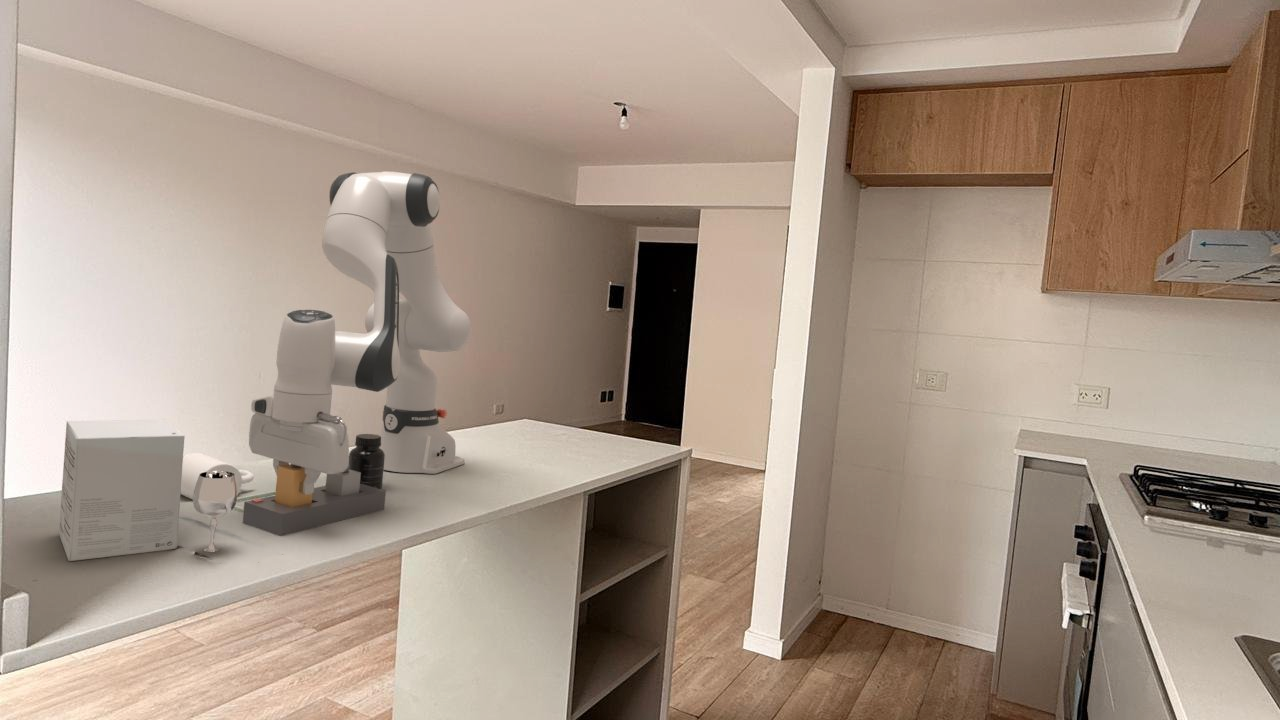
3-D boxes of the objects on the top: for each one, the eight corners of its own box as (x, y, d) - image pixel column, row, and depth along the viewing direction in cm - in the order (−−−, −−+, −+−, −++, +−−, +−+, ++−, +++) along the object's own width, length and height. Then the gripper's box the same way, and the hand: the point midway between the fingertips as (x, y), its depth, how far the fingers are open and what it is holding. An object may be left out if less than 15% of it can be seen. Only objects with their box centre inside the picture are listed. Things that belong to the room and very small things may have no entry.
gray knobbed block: (341, 505, 139) (345, 461, 138) (357, 510, 137) (361, 466, 136) (323, 509, 135) (327, 464, 135) (339, 514, 133) (343, 469, 133)
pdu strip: (348, 506, 144) (350, 479, 143) (383, 517, 140) (386, 489, 139) (242, 531, 124) (244, 500, 124) (279, 544, 120) (282, 512, 120)
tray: (274, 501, 142) (275, 490, 142) (308, 512, 138) (309, 501, 138) (217, 512, 132) (218, 501, 132) (253, 524, 128) (254, 513, 128)
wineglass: (204, 544, 116) (209, 468, 116) (240, 549, 116) (246, 472, 115) (180, 557, 111) (185, 476, 110) (218, 562, 110) (224, 481, 110)
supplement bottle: (339, 492, 153) (344, 433, 152) (371, 488, 158) (376, 431, 157) (355, 500, 148) (360, 440, 147) (387, 497, 153) (393, 438, 152)
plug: (294, 503, 129) (299, 456, 129) (311, 508, 128) (315, 460, 127) (274, 507, 126) (278, 459, 125) (290, 512, 124) (295, 463, 124)
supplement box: (159, 524, 123) (167, 418, 122) (178, 549, 113) (186, 434, 112) (57, 534, 114) (64, 419, 113) (67, 562, 104) (75, 437, 103)
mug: (195, 511, 131) (198, 466, 131) (167, 498, 137) (170, 454, 136) (262, 501, 141) (265, 459, 141) (233, 488, 147) (236, 448, 146)
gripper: (362, 417, 124) (354, 499, 125) (277, 397, 133) (271, 475, 134) (330, 420, 118) (323, 506, 119) (244, 399, 127) (238, 480, 128)
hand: (294, 489), depth 127 cm, fingers closed on plug, 4 cm apart
